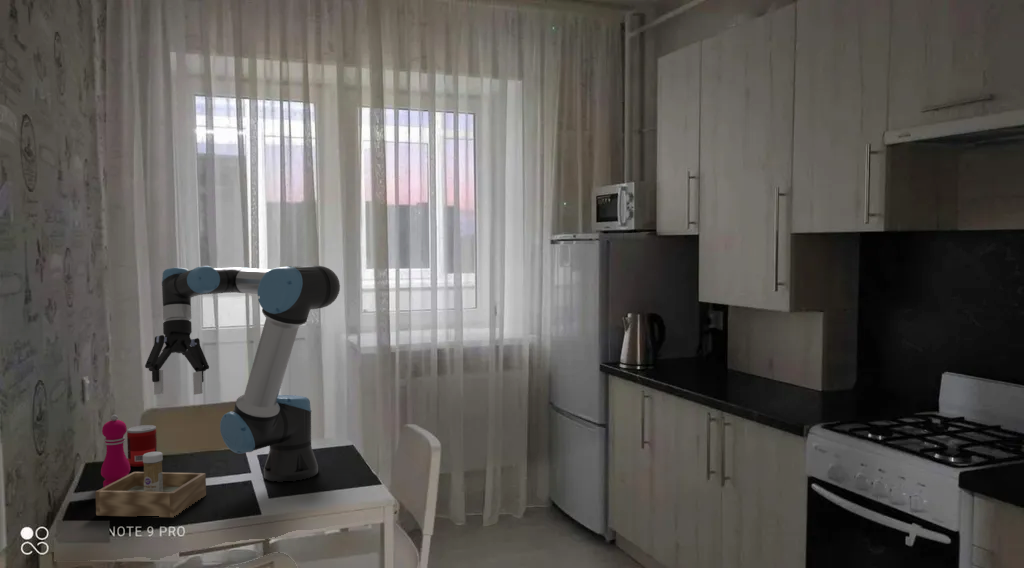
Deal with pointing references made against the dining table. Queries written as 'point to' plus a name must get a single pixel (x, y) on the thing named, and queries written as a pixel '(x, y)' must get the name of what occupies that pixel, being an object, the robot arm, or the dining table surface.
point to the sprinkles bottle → (153, 471)
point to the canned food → (140, 443)
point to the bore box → (150, 495)
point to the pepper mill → (114, 451)
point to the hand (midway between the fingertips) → (179, 394)
